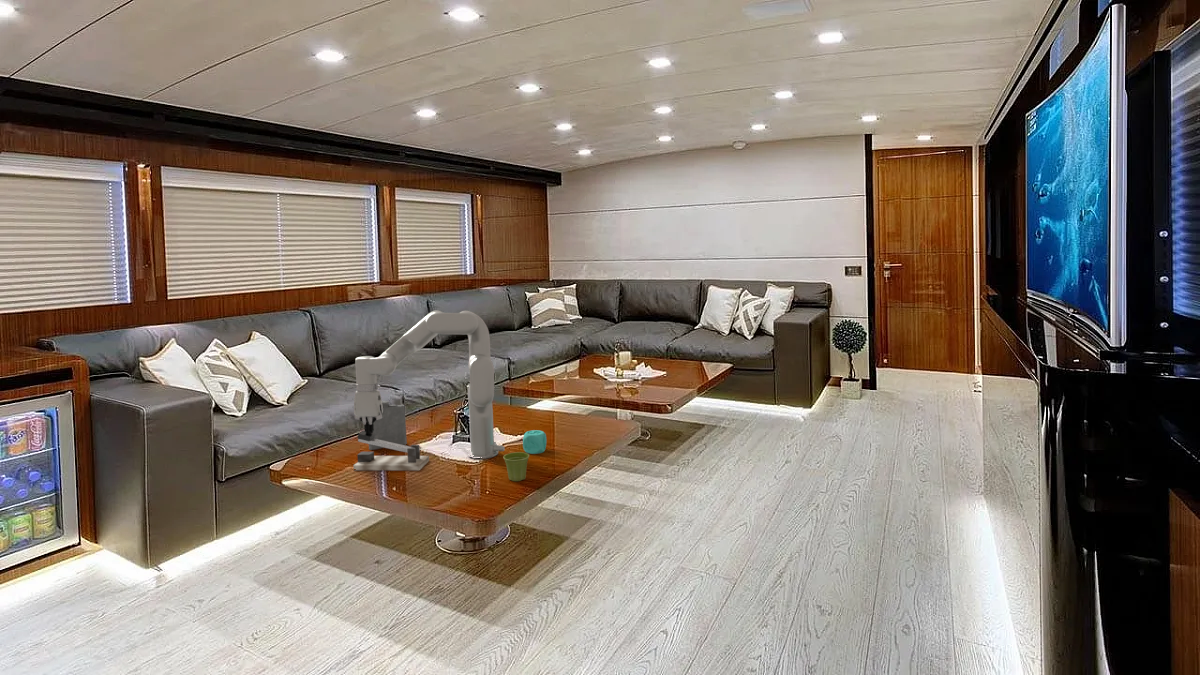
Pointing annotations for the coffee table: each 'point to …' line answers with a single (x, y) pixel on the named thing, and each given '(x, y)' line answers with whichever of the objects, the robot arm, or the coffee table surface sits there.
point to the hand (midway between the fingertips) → (369, 433)
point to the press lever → (380, 442)
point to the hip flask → (390, 425)
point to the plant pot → (516, 465)
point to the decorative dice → (534, 442)
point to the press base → (392, 461)
